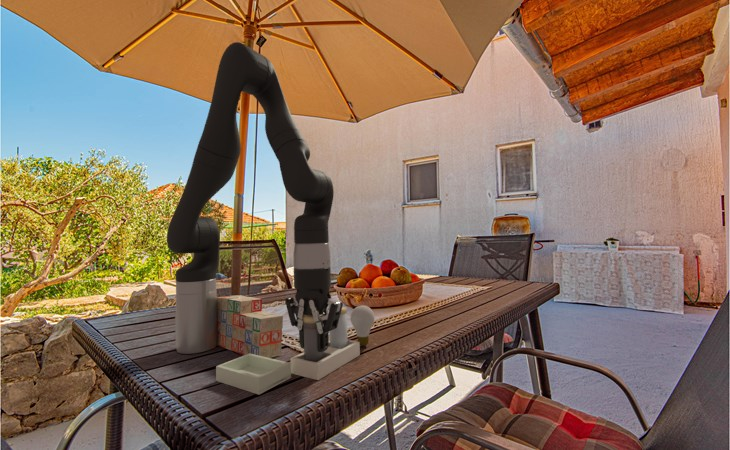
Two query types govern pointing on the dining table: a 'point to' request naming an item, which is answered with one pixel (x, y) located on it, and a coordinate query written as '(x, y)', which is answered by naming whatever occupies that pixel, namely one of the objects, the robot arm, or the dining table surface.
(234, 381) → the parts tray
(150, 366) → the dining table surface
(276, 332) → the stack of blocks
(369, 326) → the light bulb
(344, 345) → the fuse
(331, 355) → the tray
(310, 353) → the cylinder
